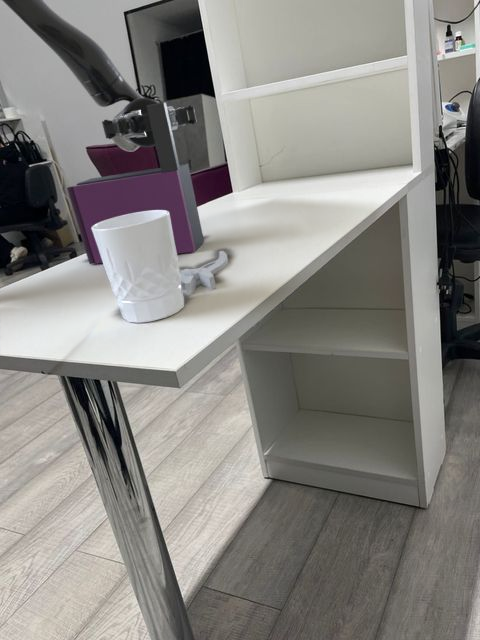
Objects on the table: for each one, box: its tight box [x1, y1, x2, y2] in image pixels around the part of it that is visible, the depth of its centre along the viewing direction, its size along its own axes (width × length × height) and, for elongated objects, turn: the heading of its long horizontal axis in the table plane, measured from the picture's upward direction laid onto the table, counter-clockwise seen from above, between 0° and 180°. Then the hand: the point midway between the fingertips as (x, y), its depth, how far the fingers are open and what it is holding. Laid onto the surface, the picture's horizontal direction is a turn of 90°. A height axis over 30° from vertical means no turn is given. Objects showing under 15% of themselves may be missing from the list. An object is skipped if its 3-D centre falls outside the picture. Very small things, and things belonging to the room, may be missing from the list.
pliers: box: [180, 250, 229, 296], centre depth 69 cm, size 10×2×15 cm
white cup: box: [91, 210, 185, 324], centre depth 56 cm, size 8×8×10 cm
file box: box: [76, 163, 205, 251], centre depth 83 cm, size 16×5×12 cm, turn 81°
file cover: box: [66, 101, 197, 265], centre depth 78 cm, size 17×1×20 cm, turn 81°
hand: (154, 121), depth 78 cm, fingers open, 8 cm apart
